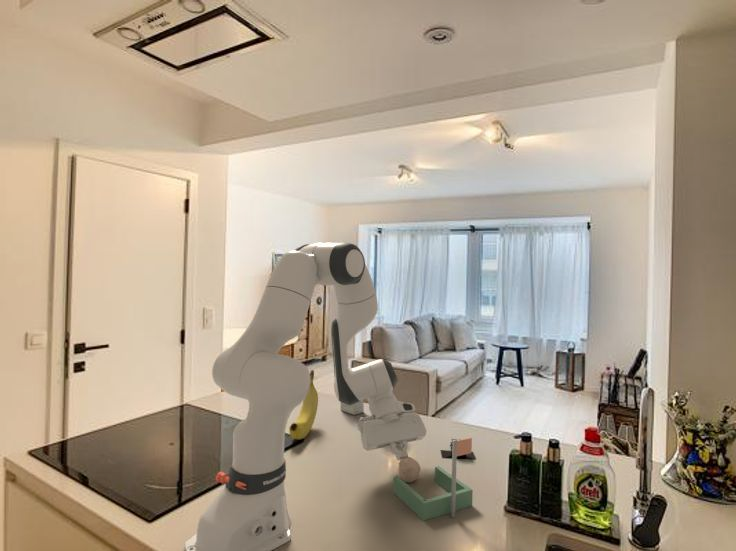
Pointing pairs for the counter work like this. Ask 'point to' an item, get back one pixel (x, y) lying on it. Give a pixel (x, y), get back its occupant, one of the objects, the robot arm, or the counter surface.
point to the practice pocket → (457, 490)
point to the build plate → (448, 455)
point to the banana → (306, 413)
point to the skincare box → (353, 408)
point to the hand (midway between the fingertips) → (403, 458)
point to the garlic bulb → (408, 469)
